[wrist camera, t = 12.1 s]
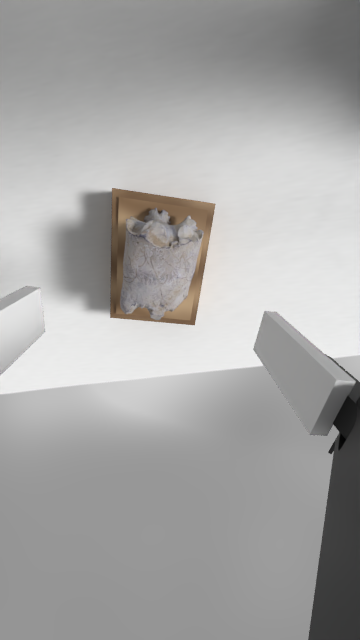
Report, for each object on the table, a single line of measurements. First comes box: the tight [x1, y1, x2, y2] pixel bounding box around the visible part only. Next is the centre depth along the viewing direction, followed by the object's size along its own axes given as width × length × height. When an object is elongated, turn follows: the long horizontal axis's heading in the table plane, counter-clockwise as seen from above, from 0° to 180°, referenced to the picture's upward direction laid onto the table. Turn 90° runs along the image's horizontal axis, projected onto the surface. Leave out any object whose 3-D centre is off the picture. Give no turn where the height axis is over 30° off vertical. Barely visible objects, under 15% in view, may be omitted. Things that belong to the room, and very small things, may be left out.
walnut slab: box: [110, 188, 215, 325], centre depth 32 cm, size 16×12×4 cm
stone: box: [120, 208, 204, 320], centre depth 27 cm, size 8×12×7 cm, turn 169°
